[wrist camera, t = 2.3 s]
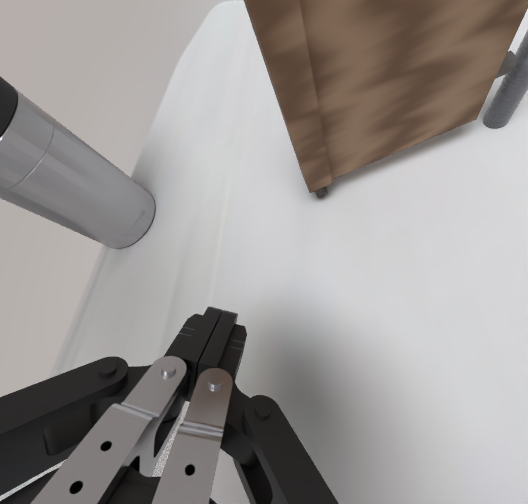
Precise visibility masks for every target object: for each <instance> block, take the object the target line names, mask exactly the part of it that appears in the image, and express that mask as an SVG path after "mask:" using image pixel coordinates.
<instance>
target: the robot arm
mask: <svg viewBox="0 0 528 504" xmlns="http://www.w3.org/2000/svg"><path fill="white" fill-rule="evenodd" d="M0 198H1V199H3V200H6V201H8V202H10V203H13V204H15V205H17V206H19V207H22V208H24V209H26V210H28V211H31V212H33V213H35V214H37V215H40V216H42V217H44V218H46V219H49V220H51V221H53V222H55V223H58V224H60V225H62V226H64V227H67V228H69V229H72V230H73V231H76V232H78V233H80V234H82V235H84V236H87V237H89V238H91V239H93V240H96V241H98V242H100V243H102V244H105V245H107V246H109V247H112V248H124V247H127V246H129V245H131V244H133V243H135V242H136V241H137V240H138V239H140V238H141V237H142V236H143V235H144V233H145V232H146V231H147V229H148V228H149V226H150V224H151V222H152V220H153V217H154V212H155V204H154V199H153V197H152V195H151V194H150V193H149V192H148V191H147V190H145V189H144V188H143V187H141V186H140V185H139V184H138V183H136V182H135V181H134V180H132V179H131V178H130V177H129V176H127V175H126V174H125V173H124V172H122V171H121V170H120V169H118V168H117V167H116V166H114V165H113V164H112V163H111V162H109V161H108V160H107V159H106V158H104V157H103V156H102V155H100V154H99V153H98V152H96V151H95V150H94V149H93V148H91V147H90V146H89V145H87V144H86V143H85V142H84V141H82V140H81V139H80V138H78V137H77V136H76V135H75V134H73V133H72V132H71V131H69V130H68V129H67V128H65V127H64V126H63V125H62V124H60V123H59V122H58V121H56V120H55V119H54V118H53V117H51V116H50V115H49V114H47V113H46V112H44V111H43V110H42V109H41V108H39V107H38V106H37V105H35V104H34V103H33V102H32V101H30V100H29V99H28V98H26V97H25V96H24V95H23V94H21V93H20V92H18V91H17V90H16V89H15V88H14V87H12V86H11V85H10V84H9V83H8V82H6V81H5V80H4V79H3V78H1V77H0ZM237 316H238V314H237V313H233V312H229V311H225V310H224V311H223V310H221V309H217V308H213V307H208V308H207V310H206V312H205V313H204V315H199V314H195V315H193V316H191V317H190V318H188V319H187V321H186V322H185V324H184V325H183V328H182V329H181V330H180V332H179V334H178V335H177V336H176V338H175V340H174V341H173V343H172V344H171V346H170V347H169V349H168V350H167V352H166V354H165V355H164V357H162V358H160V359H158V360H157V361H155V362H154V363H153V364H152V365H149V366H141V367H128V364H127V362H126V361H125V360H124V359H122V358H119V357H106V358H102V359H100V360H97V361H94V362H92V363H89V364H87V365H84V366H81V367H79V368H76V369H73V370H71V371H68V372H66V373H63V374H60V375H58V376H55V377H52V378H50V379H47V380H45V381H42V382H39V383H37V384H34V385H31V386H29V387H26V388H24V389H21V390H18V391H16V392H13V393H10V394H8V395H5V396H3V397H0V496H1V495H3V494H4V493H6V492H8V491H10V490H12V489H13V488H15V487H17V486H19V485H21V484H22V483H24V482H26V481H28V480H30V479H31V478H33V477H35V476H37V475H39V474H40V473H42V472H44V471H46V470H47V469H49V468H51V467H53V466H55V465H56V464H58V463H60V462H62V461H64V460H65V459H67V460H66V461H65V462H64V463H63V465H62V466H61V467H60V468H58V469H56V470H53V471H51V472H49V473H47V474H46V475H44V476H42V477H40V478H39V479H37V480H35V481H34V482H32V483H30V484H29V485H27V486H25V487H24V488H22V489H20V490H18V491H17V492H15V493H13V494H12V495H10V496H8V497H7V498H5V499H3V500H2V501H0V504H217V503H216V502H214V501H213V500H212V499H211V498H210V494H211V489H212V484H213V480H214V475H215V470H216V465H217V460H218V455H219V450H220V448H221V449H222V450H223V451H225V452H226V453H227V454H229V455H230V456H231V457H233V461H234V464H235V467H236V469H237V471H238V474H239V476H240V479H241V481H242V484H243V486H244V489H245V491H246V494H247V496H248V499H249V501H250V503H251V504H338V502H337V501H336V499H335V497H334V496H333V494H332V492H331V491H330V489H329V488H328V486H327V484H326V483H325V481H324V479H323V478H322V476H321V474H320V473H319V471H318V470H317V468H316V466H315V465H314V463H313V461H312V460H311V458H310V457H309V455H308V453H307V452H306V450H305V448H304V447H303V445H302V443H301V442H300V440H299V439H298V437H297V435H296V434H295V432H294V430H293V429H292V427H291V426H290V424H289V422H288V421H287V419H286V417H285V416H284V414H283V413H282V411H281V409H280V408H279V406H278V405H277V403H276V402H275V401H274V400H273V399H271V398H269V397H267V396H263V395H257V396H254V397H251V398H249V397H248V396H246V395H245V394H243V393H242V392H241V391H240V390H239V389H238V388H237V386H236V384H235V379H236V376H237V372H238V369H239V366H240V362H241V359H242V355H243V350H244V346H245V341H246V336H247V333H246V329H245V326H241V325H238V324H236V322H237ZM185 401H189V402H190V404H189V407H188V410H187V412H186V415H185V418H184V421H183V423H182V424H180V426H179V428H178V431H177V434H176V436H175V439H174V442H173V445H172V448H171V451H170V453H169V456H168V459H167V462H166V465H165V467H164V470H163V473H162V476H161V477H152V475H153V471H154V468H155V466H156V464H157V462H158V460H159V458H160V456H161V454H162V452H163V450H164V448H165V446H166V445H167V443H168V441H169V439H170V437H171V435H172V433H173V431H174V430H175V428H176V426H177V424H178V422H179V420H180V418H181V413H182V407H183V405H184V403H185Z"/></svg>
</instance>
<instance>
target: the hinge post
mask: <svg viewBox="0 0 528 504" xmlns="http://www.w3.org/2000/svg"><path fill="white" fill-rule="evenodd" d="M515 55H516V56H517V57H518V58H517V60H516V62H515V64H514V66H513V68H512V70H511V72H509V73H507V74H506V75H505V77H504V79H503V81H502V83H501V85H500V87H499V89H498V91H497V93H496V95H495V97H494V99H493V101H492V103H491V105H490V107H489V109H488V111H487V113H486V115H485V117H484V120H483V121H484V124H485V125H486V126H487V127H490V128H501V127H503V126H505V125H506V124H507V123H508V121H509V119H510V118H511V116H512V114H513V113H514V111H515V109H516V108H517V106H518V104H519V103H520V101H521V99H522V98H523V96H524V94H525V93H526V91H527V89H528V30H527V32H526V34H525V36H524V38H523V40H522V42H521V44H520V46H519V48H518V50H517V52H516V54H515Z"/></svg>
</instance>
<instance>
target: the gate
mask: <svg viewBox="0 0 528 504" xmlns="http://www.w3.org/2000/svg"><path fill="white" fill-rule="evenodd" d="M244 2H245V5H246V8H247V11H248V14H249V17H250V20H251V23H252V26H253V29H254V32H255V35H256V38H257V41H258V44H259V47H260V50H261V53H262V56H263V59H264V62H265V65H266V68H267V71H268V74H269V77H270V80H271V83H272V86H273V89H274V92H275V95H276V97H277V100H278V103H279V106H280V109H281V112H282V115H283V118H284V121H285V124H286V127H287V130H288V133H289V136H290V139H291V142H292V145H293V148H294V151H295V154H296V157H297V160H298V163H299V166H300V169H301V172H302V175H303V177H304V180H305V182H306V185H307V187H308V190H309V192H310V193H311V192H314V191H316V194H317V196H318V197H321V196H323V195H326V194H328V193H327V189H326V186H328V185H330V184H333V183H332V179H334V178H336V177H339V176H341V175H344V174H346V173H348V172H351V171H353V170H356V169H358V168H360V167H363V166H365V165H368V164H370V163H372V162H375V161H377V160H380V159H382V158H384V157H387V156H389V155H392V154H394V153H396V152H399V151H401V150H404V149H406V148H408V147H411V146H413V145H416V144H418V143H420V142H423V141H425V140H428V139H430V138H432V137H435V136H437V135H440V134H442V133H444V132H447V131H449V130H452V129H454V128H456V127H459V126H461V125H464V124H466V123H468V122H471V121H473V120H476V119H477V116H478V114H479V112H480V110H481V108H482V106H483V104H484V101H485V99H486V97H487V95H488V93H489V91H490V88H491V86H492V84H493V82H494V80H495V79H496V78H498V77H500V76H502V75H505V74H507V73H509V72H511V70H512V68H513V66H514V64H515V62H516V60H517V58H518V57H517V56H516V55H515V54H514V53H513V52H512V51H508V49H509V47H510V45H511V43H512V41H513V39H514V36H515V34H516V32H517V30H518V28H519V26H520V24H521V21H522V19H523V17H524V15H525V13H526V11H527V8H528V0H244Z"/></svg>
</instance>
